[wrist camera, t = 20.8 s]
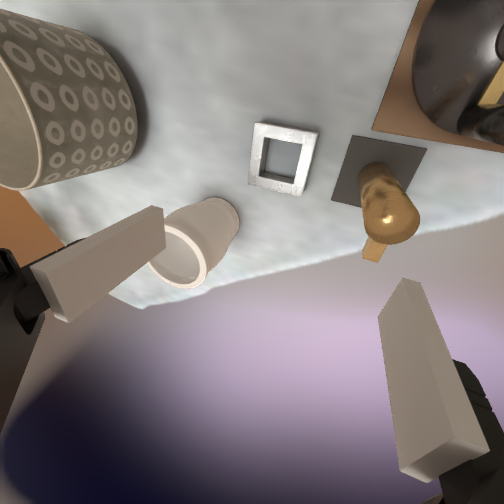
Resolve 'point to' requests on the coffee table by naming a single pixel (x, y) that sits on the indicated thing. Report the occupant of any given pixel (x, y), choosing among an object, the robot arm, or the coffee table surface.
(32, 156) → the planter
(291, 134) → the eye block
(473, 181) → the coffee table surface
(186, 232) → the jar
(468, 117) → the handwheel
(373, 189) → the hook peg
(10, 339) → the robot arm
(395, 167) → the pad
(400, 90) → the wheel base
